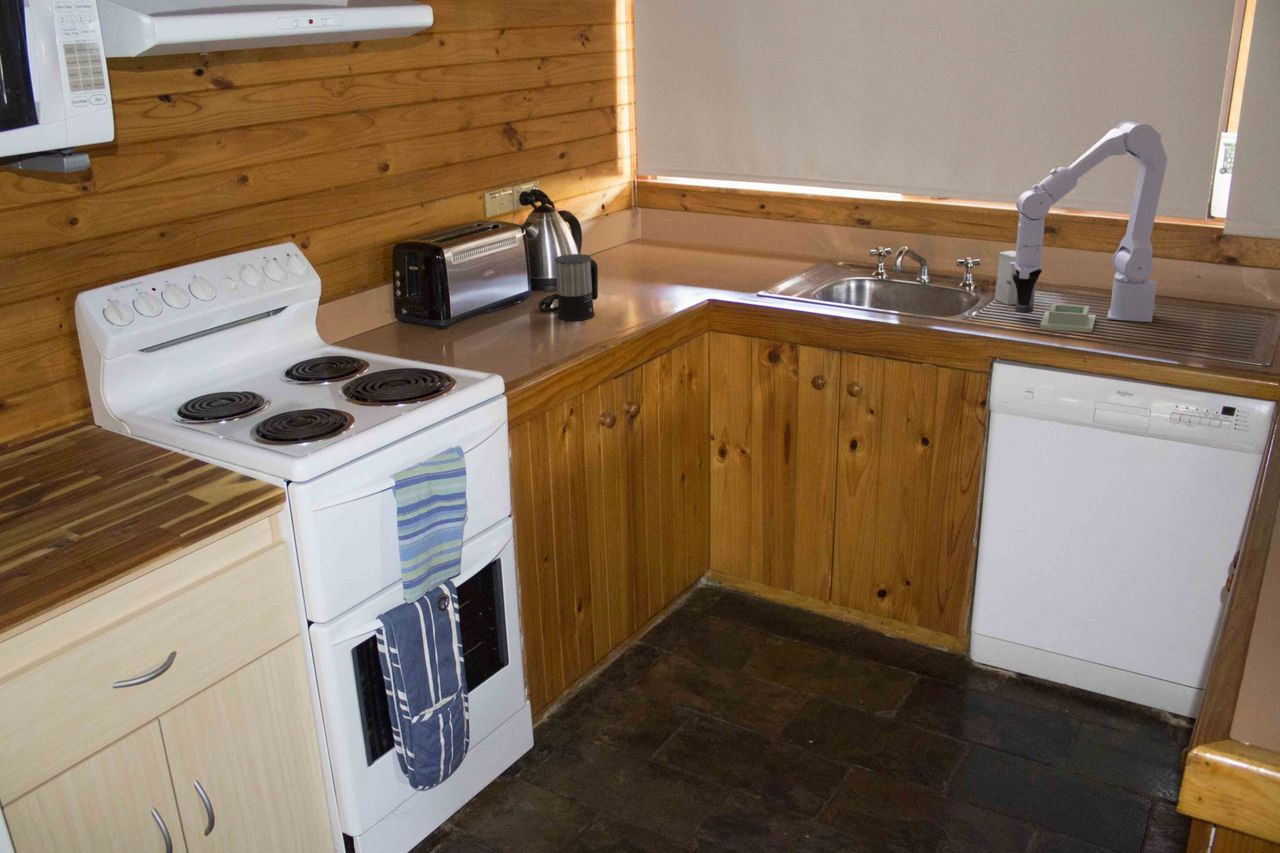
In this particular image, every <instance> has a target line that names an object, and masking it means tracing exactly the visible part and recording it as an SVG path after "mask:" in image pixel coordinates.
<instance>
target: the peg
mask: <svg viewBox="0 0 1280 853" xmlns="http://www.w3.org/2000/svg"><path fill="white" fill-rule="evenodd" d="M1036 283H1037V282H1036ZM1036 283H1035V285H1034V287H1033V291H1032V295H1031V299H1030V302H1029V305H1028V306H1027V305H1019V303H1018V296H1017V293H1016V304H1015V307H1014V311H1015V312H1016V313H1021V314H1031V313H1033V312H1034V305H1035V294H1036Z"/></svg>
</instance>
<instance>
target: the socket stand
mask: <svg viewBox="0 0 1280 853" xmlns="http://www.w3.org/2000/svg"><path fill="white" fill-rule="evenodd" d="M1089 310H1090V305H1079V304H1076V305H1075V304H1067V303H1066V304H1062V303H1052V304H1051V307H1050V309H1049V310H1048V311H1044V313H1043V314H1044V315H1043V317H1042V319H1041V322H1040V325H1039V330H1049V331H1051V330H1052V331H1063V332H1077V333H1089V334H1090V333H1093V330H1094V326H1095V321H1096V316H1097V315H1096V314H1089V313H1090V311H1089Z"/></svg>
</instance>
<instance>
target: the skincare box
mask: <svg viewBox="0 0 1280 853" xmlns="http://www.w3.org/2000/svg"><path fill="white" fill-rule="evenodd" d="M998 257H999V258H998V263H997V264H998V266H997V274H996V275H997V276H996V284H995V294H994V299H995V301H997V302H1000V303H1002V304H1004V305H1008V306H1009V305H1012V306H1013V305H1016V293H1017V289H1016V285H1015V282H1014V280H1013V274H1017V273H1016V270H1017V269H1016V268H1015V267H1012V266H1009V265H1010V262H1015V257H1016V250H1006V251H999V256H998Z"/></svg>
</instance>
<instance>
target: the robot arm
mask: <svg viewBox="0 0 1280 853" xmlns="http://www.w3.org/2000/svg"><path fill="white" fill-rule="evenodd" d="M1128 153H1129V154H1130V155H1131V156H1132V157H1133V159H1134V160H1135V161H1136V162H1137V163H1138V164H1139V170H1138V171H1139V172H1138V175H1137V180H1136V185H1135V190H1134V194H1133V198H1132V204H1131V209H1130V214H1129V219H1128V222H1127V228H1126V233H1125V235H1124V237H1122V239H1121V241H1120V242H1119V246H1118V249H1117V250H1116V251H1115V253H1114V255H1113V256H1112V266H1113V268H1114V269H1115V274H1114V275H1113V284H1112V292H1111V301H1110V309H1108V311H1107V312H1108V313H1107V316H1106V317H1107V318H1106V319H1107V320H1112V321H1113V320H1115V321H1128V322H1129V321H1131V322H1132V321H1133V322H1143V323H1144V322H1145V323H1152V322H1153V316H1154V314H1155V313H1156V305H1155V300H1156V293H1157V285H1158V284H1157V283H1158V282H1157V280H1151V279H1150V280H1149V277H1151V275H1152V274H1153V271H1154V262H1153V251H1154V250H1153V246H1152V241H1151V236H1152V232H1153V228H1154V225H1155V224H1154V223H1155V220H1156V215H1157V209H1158V205H1159V201H1160V195H1161V192H1162V187H1163V183H1164V178H1165V173H1166V170H1167V164H1168V156H1167V154H1166V151H1165V148H1164V146H1163V142H1162V136H1161V134H1160V133H1159V132H1158V130H1156V129H1155V128H1154V127H1153V126H1152V125H1150V124H1147V123H1141V122H1138V121H1137V120H1133V119H1127V120H1124V121H1122V122H1121V123H1119V124H1118V125H1117V126H1116V127H1113V128H1112V129H1109V130H1108V132H1107V133H1106V134H1105V135H1103V137H1101V139H1100V140H1098V141H1097V142H1096V143H1095V144H1094V145H1092V147H1090V148H1089V149H1088V150H1087V151H1085V152H1084V153H1083V154H1082V155H1081V156H1080V157H1078V159H1076V160H1075V161H1074V162H1073V163H1072V164H1071V165H1069V166H1067V167H1066V166H1065V167H1064V166H1059V167H1058V168H1057V169H1056V168H1053V169H1051V170H1050V171H1049V175H1048V176H1046V178H1044V179H1043V180H1042V181H1040V182H1039V183H1037V184H1033V185H1032V187H1031V188H1032V189H1030V190H1026V191H1024V192H1023V193H1021V195H1019V197H1018V200H1017V201H1016V203H1015V206H1016V209H1017V211H1018V224H1017V232H1016V233H1017V234H1016V246H1015V247H1016V248H1015V251H1016V257H1015V262H1010V265H1009V266H1012V267H1015V268H1016V269H1017V270H1016V273H1017V274H1013V280H1014V282H1015V285H1016V289H1017V296H1018V303H1019V305H1027V306H1028V305H1029V302H1030V299H1031V295H1032V291H1033V287H1034V285H1035V286H1036V284H1035V283H1037V281H1038V279H1039V277H1040V275H1041V274H1042V271H1043V270H1042V268H1043V264H1042V260H1043V259H1042V256H1043V246H1044V237H1045V236H1044V234H1045V219H1046V218H1045V217H1046V216H1047V214H1048V213H1050V212H1049V211H1050V209H1051V206H1053V205H1055V204H1056V203H1057V202H1059V201H1060V200H1061V199H1063V198H1064V197H1066V195H1068V194H1069V193H1071V191H1073V190H1074V189H1075V188H1077V185H1078V181H1079V178H1081V177H1082V176H1084V175H1085V174H1086V173H1088V172H1089V171H1090V170H1092V169H1093V168H1095V167H1096V166H1098V165H1099V164H1101V163H1102V162H1104V160H1106V159H1107V158H1109V157H1111V156H1120V155H1121V156H1122V155H1127V154H1128Z"/></svg>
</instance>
